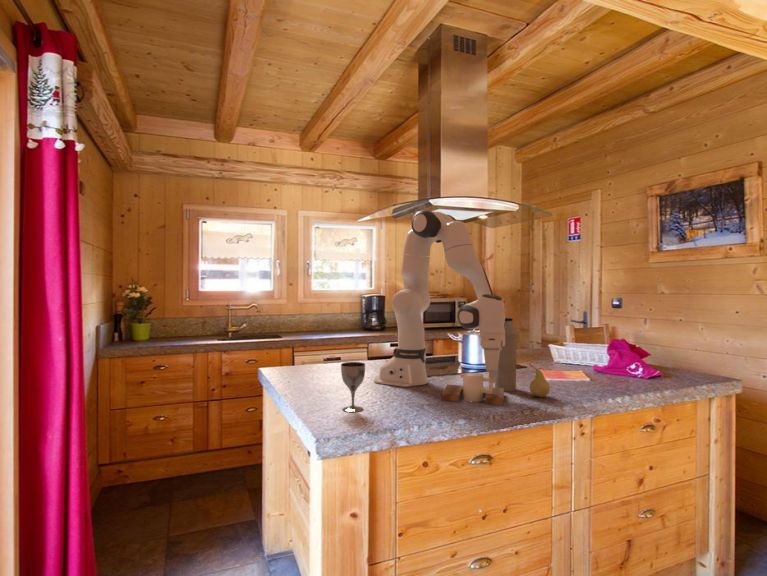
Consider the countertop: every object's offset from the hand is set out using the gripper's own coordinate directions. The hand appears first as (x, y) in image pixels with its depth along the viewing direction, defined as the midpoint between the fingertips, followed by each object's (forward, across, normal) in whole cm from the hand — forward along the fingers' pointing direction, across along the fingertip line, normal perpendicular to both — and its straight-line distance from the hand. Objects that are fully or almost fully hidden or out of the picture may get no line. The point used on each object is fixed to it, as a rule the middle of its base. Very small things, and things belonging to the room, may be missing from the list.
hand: (492, 379), depth 156 cm
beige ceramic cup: (+8, 0, -6) cm, 10 cm away
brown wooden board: (+8, -3, -7) cm, 11 cm away
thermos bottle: (+8, -19, +4) cm, 21 cm away
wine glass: (+7, +24, -44) cm, 51 cm away
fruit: (+8, -11, +16) cm, 21 cm away
